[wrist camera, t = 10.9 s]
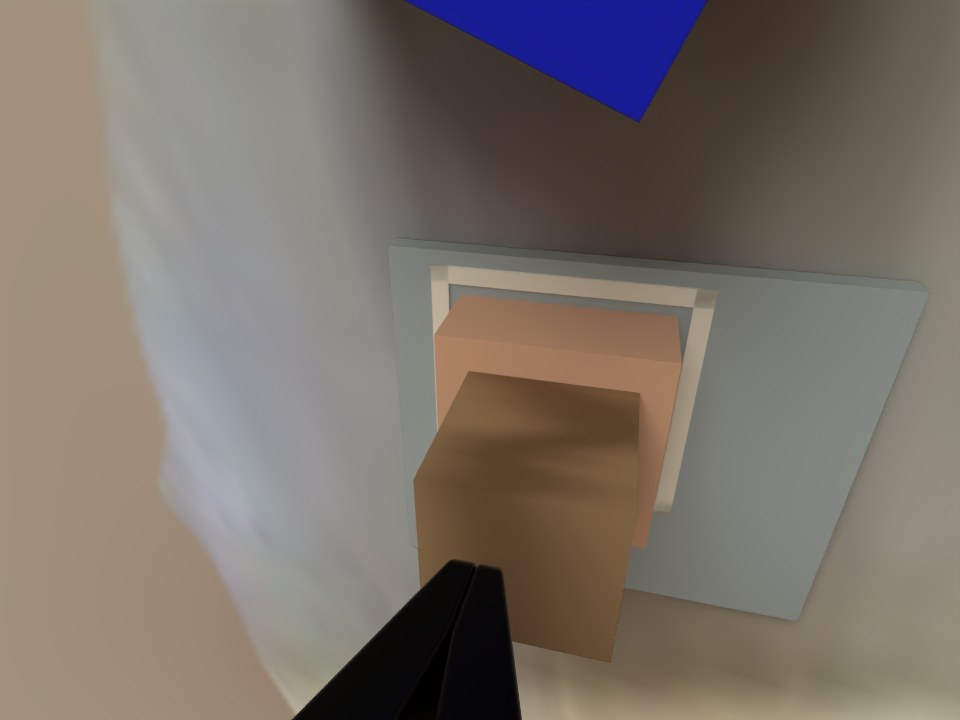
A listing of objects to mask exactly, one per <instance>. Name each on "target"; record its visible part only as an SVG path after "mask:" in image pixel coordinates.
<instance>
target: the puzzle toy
mask: <svg viewBox="0 0 960 720" xmlns="http://www.w3.org/2000/svg"><path fill="white" fill-rule="evenodd" d="M404 1H406V2H408V3H410V4H412V5H414V6H416V7H418V8H420V9H422V10H423V11H425V12H427V13H429V14H431V15H433V16H435V17H437V18H439V19H441V20H443V21H445V22H446V23H448V24H450V25H452V26H454V27H456V28H458V29H460V30H462V31H464V32H466V33H468V34H469V35H471V36H473V37H475V38H477V39H479V40H481V41H483V42H485V43H487V44H489V45H491V46H493V47H494V48H496V49H498V50H500V51H502V52H504V53H506V54H508V55H510V56H512V57H514V58H516V59H517V60H519V61H521V62H523V63H525V64H527V65H529V66H531V67H533V68H535V69H537V70H539V71H540V72H542V73H544V74H546V75H548V76H550V77H552V78H554V79H556V80H558V81H560V82H562V83H563V84H565V85H567V86H569V87H571V88H573V89H575V90H577V91H579V92H581V93H583V94H585V95H586V96H588V97H590V98H592V99H594V100H596V101H598V102H600V103H602V104H604V105H606V106H608V107H609V108H611V109H613V110H615V111H617V112H619V113H621V114H623V115H625V116H627V117H629V118H631V119H633V120H634V121H636V122H638V123H640V121H641V119H642V117H643V116H644V114H645V112H646V110H647V108H648V107H649V105H650V103H651V101H652V100H653V98H654V96H655V94H656V92H657V91H658V89H659V87H660V85H661V83H662V82H663V80H664V78H665V76H666V74H667V73H668V71H669V69H670V67H671V65H672V64H673V62H674V60H675V58H676V56H677V55H678V53H679V51H680V49H681V47H682V46H683V44H684V42H685V40H686V38H687V37H688V35H689V33H690V31H691V29H692V28H693V26H694V24H695V22H696V20H697V19H698V17H699V15H700V13H701V11H702V10H703V8H704V6H705V4H706V2H707V1H708V0H404Z"/></svg>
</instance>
